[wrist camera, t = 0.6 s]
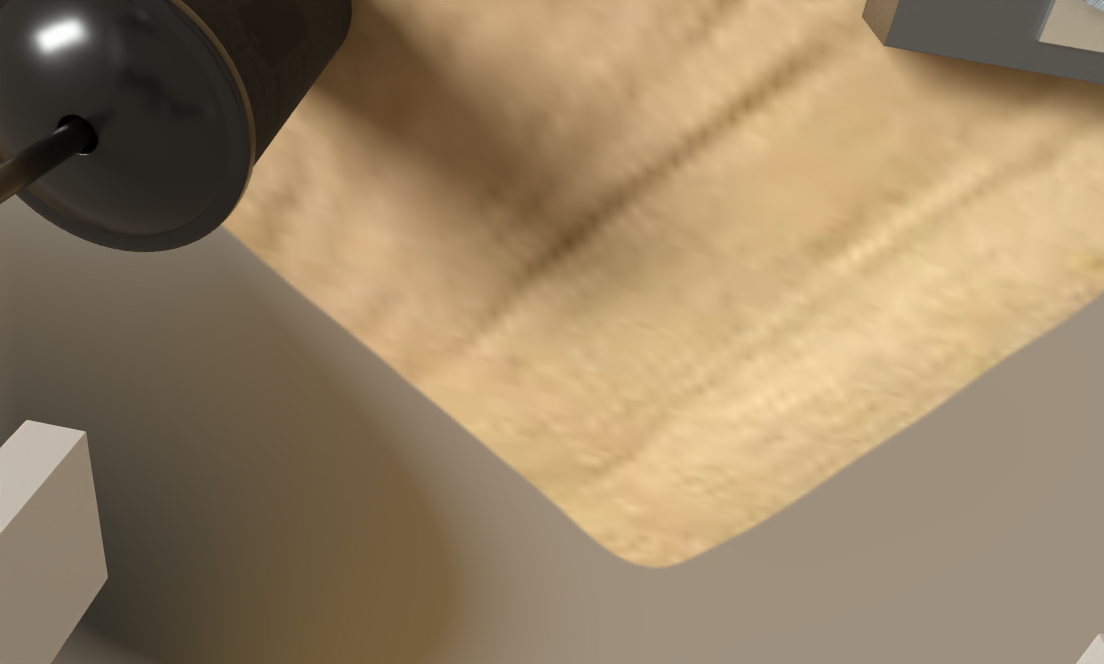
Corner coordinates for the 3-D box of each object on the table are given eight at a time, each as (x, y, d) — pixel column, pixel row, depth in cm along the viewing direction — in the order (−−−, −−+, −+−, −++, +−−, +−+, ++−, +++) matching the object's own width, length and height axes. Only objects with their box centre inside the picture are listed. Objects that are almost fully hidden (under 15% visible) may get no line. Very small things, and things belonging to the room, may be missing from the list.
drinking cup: (212, -149, 33) (-280, -50, 16) (414, -54, 34) (156, 136, 17) (173, 50, 37) (-254, 300, 20) (355, 130, 38) (97, 434, 21)
